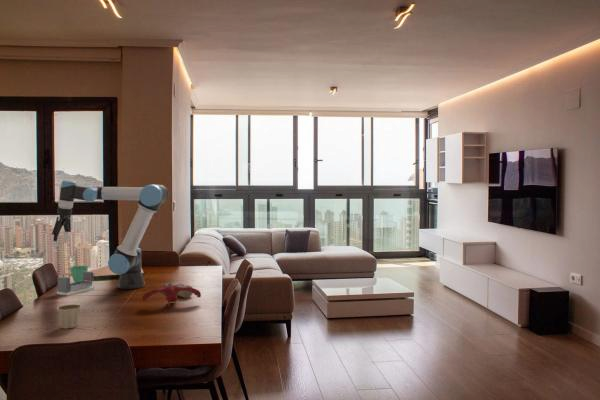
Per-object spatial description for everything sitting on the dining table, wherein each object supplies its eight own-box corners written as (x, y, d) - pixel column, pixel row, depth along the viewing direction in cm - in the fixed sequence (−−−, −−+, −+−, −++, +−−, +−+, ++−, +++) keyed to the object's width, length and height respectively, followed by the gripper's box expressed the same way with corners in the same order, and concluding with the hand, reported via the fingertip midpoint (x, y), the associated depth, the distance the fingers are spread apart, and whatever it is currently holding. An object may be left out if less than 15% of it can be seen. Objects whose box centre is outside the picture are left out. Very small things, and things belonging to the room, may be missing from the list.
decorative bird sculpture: (142, 315, 252) (141, 298, 242) (143, 299, 259) (142, 282, 248) (200, 311, 260) (201, 294, 250) (199, 295, 266) (200, 278, 256)
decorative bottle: (194, 297, 273) (194, 284, 272) (181, 299, 268) (181, 287, 267) (171, 289, 292) (170, 277, 292) (159, 291, 287) (158, 279, 286)
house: (89, 275, 337) (89, 262, 337) (141, 271, 349) (141, 259, 349) (88, 281, 316) (88, 268, 316) (143, 277, 328) (143, 265, 328)
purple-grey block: (85, 285, 296) (84, 271, 296) (94, 286, 292) (93, 272, 292) (77, 286, 292) (77, 272, 291) (87, 288, 288) (86, 273, 288)
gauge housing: (84, 287, 296) (83, 271, 296) (94, 289, 293) (94, 272, 292) (57, 294, 280) (56, 277, 280) (67, 295, 277) (67, 278, 276)
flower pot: (62, 323, 223) (62, 304, 223) (84, 323, 224) (84, 303, 223) (54, 330, 214) (53, 310, 213) (77, 329, 214) (76, 309, 214)
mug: (85, 285, 304) (85, 268, 304) (68, 285, 303) (68, 268, 302) (92, 280, 318) (92, 264, 318) (76, 280, 317) (75, 264, 317)
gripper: (67, 205, 298) (62, 240, 299) (48, 208, 273) (43, 247, 274) (80, 207, 298) (75, 242, 299) (63, 210, 273) (57, 249, 274)
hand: (59, 244), depth 287 cm, fingers open, 13 cm apart
